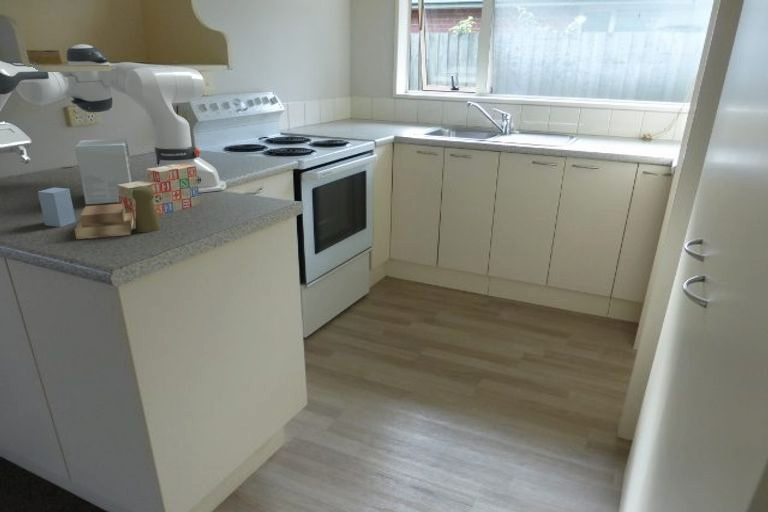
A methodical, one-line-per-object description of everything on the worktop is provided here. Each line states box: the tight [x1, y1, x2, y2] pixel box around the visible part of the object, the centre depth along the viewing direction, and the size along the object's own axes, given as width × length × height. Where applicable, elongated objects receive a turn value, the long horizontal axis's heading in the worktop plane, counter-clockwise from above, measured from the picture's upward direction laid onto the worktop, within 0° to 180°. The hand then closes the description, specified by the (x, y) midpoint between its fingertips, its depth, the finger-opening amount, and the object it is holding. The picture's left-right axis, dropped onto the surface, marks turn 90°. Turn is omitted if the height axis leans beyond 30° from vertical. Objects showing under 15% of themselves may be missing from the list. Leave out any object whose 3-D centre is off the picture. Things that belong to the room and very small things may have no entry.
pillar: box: [37, 187, 76, 228], centre depth 138 cm, size 5×5×9 cm
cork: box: [132, 187, 162, 233], centre depth 134 cm, size 6×6×11 cm
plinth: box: [74, 203, 135, 240], centre depth 133 cm, size 12×12×6 cm
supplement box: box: [74, 138, 134, 205], centre depth 161 cm, size 13×13×18 cm
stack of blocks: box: [117, 164, 201, 221], centre depth 150 cm, size 21×6×12 cm, turn 145°
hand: (11, 165), depth 137 cm, fingers open, 8 cm apart
